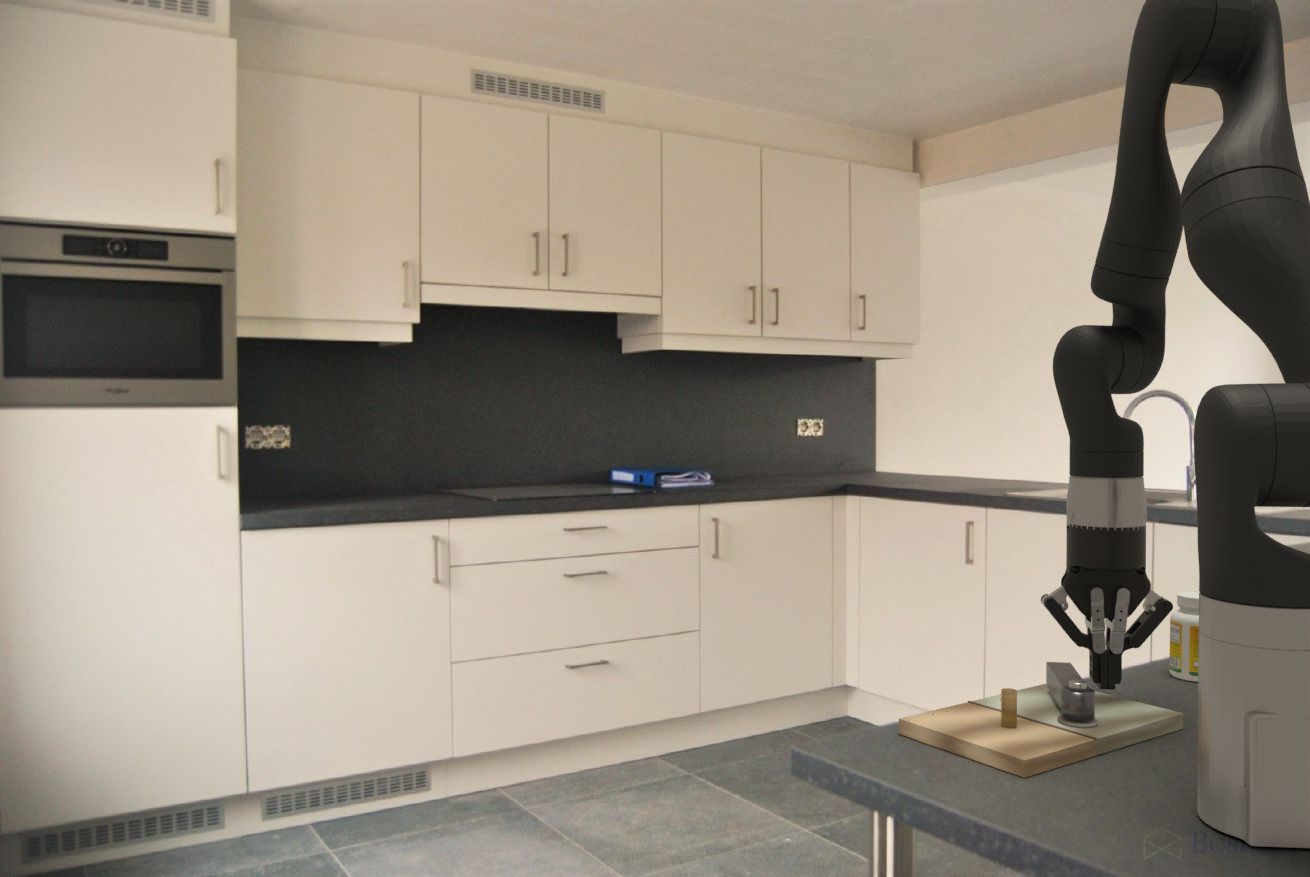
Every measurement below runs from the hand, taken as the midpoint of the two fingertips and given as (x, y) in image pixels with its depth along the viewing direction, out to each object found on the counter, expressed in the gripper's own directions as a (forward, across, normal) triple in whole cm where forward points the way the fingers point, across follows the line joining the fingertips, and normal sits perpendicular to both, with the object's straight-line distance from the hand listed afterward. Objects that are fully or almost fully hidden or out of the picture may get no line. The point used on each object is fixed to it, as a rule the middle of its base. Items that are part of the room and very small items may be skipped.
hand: (1104, 687), depth 108 cm
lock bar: (0, +5, +5) cm, 7 cm away
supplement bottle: (+3, -14, -16) cm, 21 cm away
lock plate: (+2, +8, +8) cm, 11 cm away
